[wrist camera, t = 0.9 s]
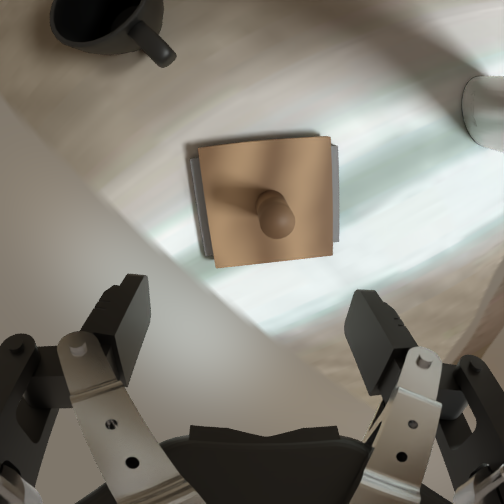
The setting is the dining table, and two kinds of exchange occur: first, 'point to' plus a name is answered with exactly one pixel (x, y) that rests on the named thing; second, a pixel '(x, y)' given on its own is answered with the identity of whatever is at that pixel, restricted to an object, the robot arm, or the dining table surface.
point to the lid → (268, 200)
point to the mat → (203, 212)
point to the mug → (112, 27)
